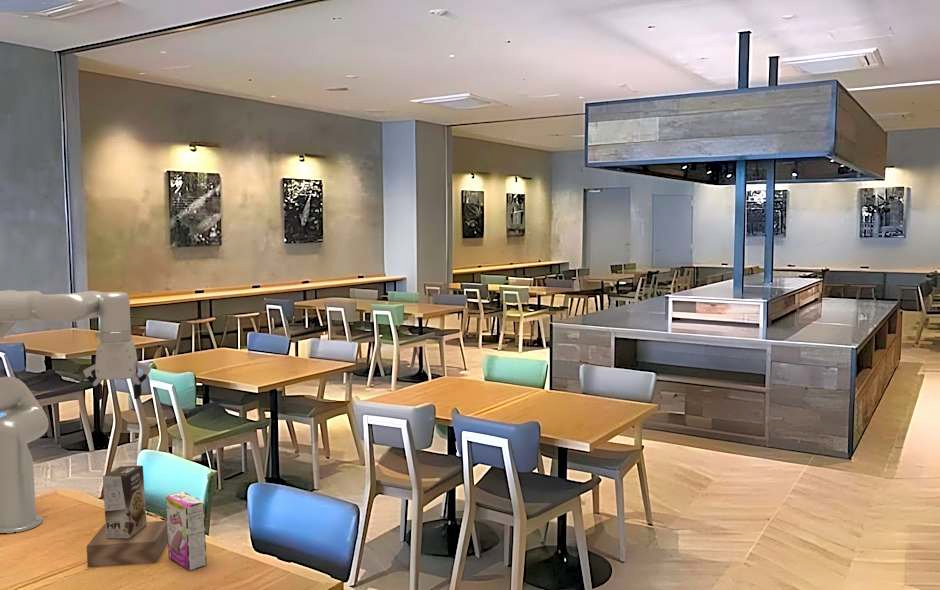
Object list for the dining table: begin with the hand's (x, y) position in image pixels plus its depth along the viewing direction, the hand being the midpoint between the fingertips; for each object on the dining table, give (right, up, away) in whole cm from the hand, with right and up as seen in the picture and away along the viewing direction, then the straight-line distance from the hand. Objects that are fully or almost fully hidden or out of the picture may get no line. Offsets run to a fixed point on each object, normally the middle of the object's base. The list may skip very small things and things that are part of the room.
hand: (118, 398), depth 212 cm
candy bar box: (+26, -38, -20) cm, 50 cm away
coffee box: (+9, -32, -15) cm, 37 cm away
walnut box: (+10, -38, -15) cm, 42 cm away
